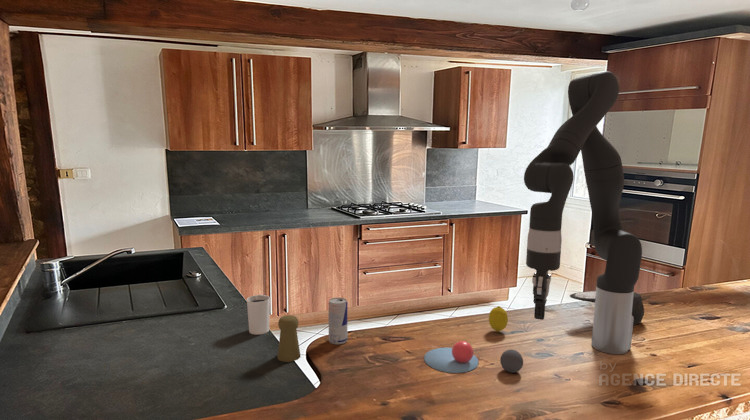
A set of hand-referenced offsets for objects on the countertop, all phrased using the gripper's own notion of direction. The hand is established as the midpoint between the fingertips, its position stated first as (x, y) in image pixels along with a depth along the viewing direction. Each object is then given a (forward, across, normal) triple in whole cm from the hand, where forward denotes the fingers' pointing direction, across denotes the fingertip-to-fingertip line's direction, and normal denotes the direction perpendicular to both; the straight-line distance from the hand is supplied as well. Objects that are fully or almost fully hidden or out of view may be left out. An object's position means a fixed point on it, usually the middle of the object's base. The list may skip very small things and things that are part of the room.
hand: (539, 318), depth 114 cm
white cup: (+15, -6, +78) cm, 80 cm away
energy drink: (+15, -2, +54) cm, 56 cm away
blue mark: (+15, 0, +21) cm, 26 cm away
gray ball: (+12, 0, +6) cm, 14 cm away
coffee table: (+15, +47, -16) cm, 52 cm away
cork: (+15, -16, +60) cm, 64 cm away
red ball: (+12, 0, +18) cm, 22 cm away
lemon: (+15, +24, +13) cm, 31 cm away
